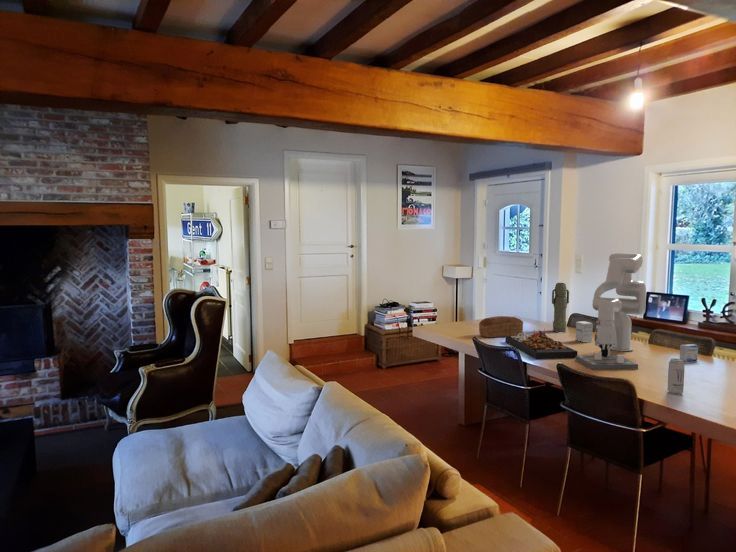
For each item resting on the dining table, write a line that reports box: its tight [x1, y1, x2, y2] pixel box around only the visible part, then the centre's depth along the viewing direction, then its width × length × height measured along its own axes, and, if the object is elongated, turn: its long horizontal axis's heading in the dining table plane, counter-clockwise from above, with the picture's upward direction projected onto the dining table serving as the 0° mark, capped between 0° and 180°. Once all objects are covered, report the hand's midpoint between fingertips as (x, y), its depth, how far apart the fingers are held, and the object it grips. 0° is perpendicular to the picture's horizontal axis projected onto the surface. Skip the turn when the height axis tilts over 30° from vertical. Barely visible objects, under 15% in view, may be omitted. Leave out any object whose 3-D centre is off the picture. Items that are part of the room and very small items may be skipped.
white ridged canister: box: [575, 320, 594, 343], centre depth 329 cm, size 7×7×13 cm
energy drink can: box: [667, 357, 686, 396], centre depth 223 cm, size 6×6×15 cm
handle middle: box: [594, 351, 602, 360], centre depth 272 cm, size 2×3×4 cm, turn 92°
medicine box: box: [679, 343, 699, 362], centre depth 280 cm, size 8×4×9 cm, turn 105°
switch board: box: [575, 354, 639, 371], centre depth 272 cm, size 20×24×3 cm
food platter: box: [505, 328, 578, 360], centre depth 307 cm, size 45×25×10 cm, turn 6°
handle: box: [616, 354, 625, 363], centre depth 265 cm, size 2×3×4 cm, turn 92°
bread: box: [478, 315, 524, 338], centre depth 348 cm, size 12×31×14 cm, turn 104°
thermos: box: [551, 282, 570, 333], centre depth 361 cm, size 9×12×35 cm
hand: (604, 356), depth 272 cm, fingers closed
